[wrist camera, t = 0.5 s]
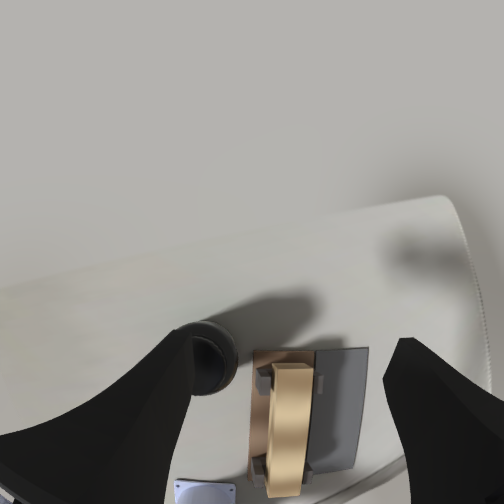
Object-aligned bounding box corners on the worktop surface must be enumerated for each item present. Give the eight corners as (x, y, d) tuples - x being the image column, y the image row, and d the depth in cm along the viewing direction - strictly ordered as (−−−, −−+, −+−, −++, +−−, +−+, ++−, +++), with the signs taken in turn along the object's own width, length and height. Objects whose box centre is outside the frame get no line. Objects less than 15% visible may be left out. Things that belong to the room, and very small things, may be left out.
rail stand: (300, 474, 29) (311, 495, 24) (247, 477, 28) (251, 499, 23) (311, 350, 33) (327, 356, 27) (253, 350, 32) (259, 357, 27)
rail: (292, 480, 26) (299, 495, 23) (264, 482, 26) (268, 497, 22) (304, 362, 29) (313, 368, 26) (272, 363, 29) (278, 369, 26)
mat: (351, 466, 30) (352, 468, 29) (303, 474, 29) (304, 475, 29) (366, 348, 33) (367, 348, 33) (315, 350, 33) (316, 350, 32)
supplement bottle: (242, 329, 33) (252, 338, 21) (227, 383, 31) (229, 419, 19) (185, 312, 32) (163, 312, 21) (170, 367, 31) (143, 393, 19)
